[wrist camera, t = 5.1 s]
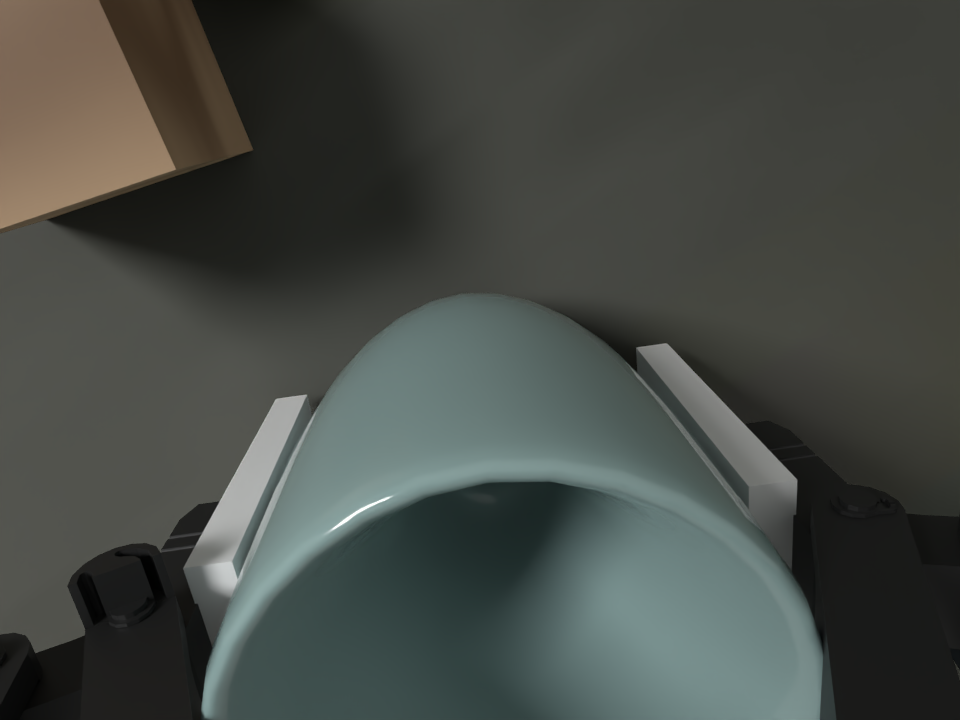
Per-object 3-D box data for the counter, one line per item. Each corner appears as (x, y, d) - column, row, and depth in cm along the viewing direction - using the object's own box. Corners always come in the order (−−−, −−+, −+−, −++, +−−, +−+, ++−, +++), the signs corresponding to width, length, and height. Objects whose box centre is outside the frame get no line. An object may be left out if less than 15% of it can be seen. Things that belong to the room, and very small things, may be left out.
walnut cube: (-79, -19, 14) (-337, -79, 9) (151, -101, 14) (4, -206, 9) (47, 218, 16) (-116, 267, 11) (254, 149, 16) (175, 169, 11)
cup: (689, 382, 18) (962, 684, 9) (499, 584, 20) (554, 1015, 10) (450, 191, 16) (468, 314, 7) (264, 435, 18) (70, 803, 8)
